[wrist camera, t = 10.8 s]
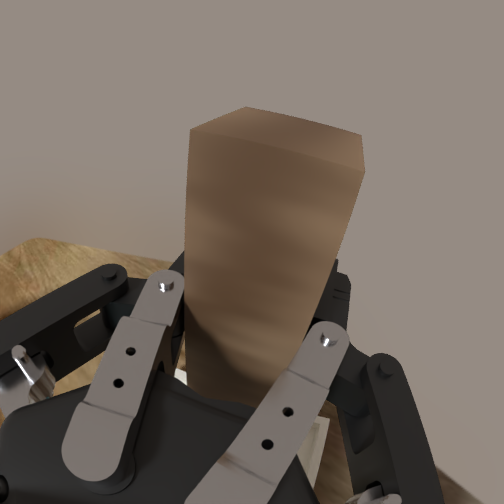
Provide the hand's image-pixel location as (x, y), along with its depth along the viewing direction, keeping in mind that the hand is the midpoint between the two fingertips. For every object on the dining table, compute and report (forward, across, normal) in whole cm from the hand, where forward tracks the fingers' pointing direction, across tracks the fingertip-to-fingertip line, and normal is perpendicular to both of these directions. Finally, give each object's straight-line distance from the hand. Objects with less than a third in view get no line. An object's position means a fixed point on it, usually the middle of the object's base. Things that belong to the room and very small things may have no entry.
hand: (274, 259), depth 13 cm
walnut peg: (-3, 0, +16) cm, 16 cm away
